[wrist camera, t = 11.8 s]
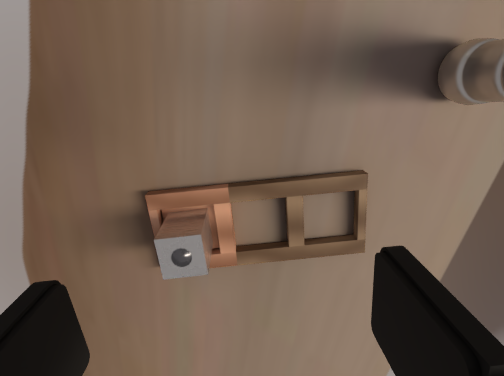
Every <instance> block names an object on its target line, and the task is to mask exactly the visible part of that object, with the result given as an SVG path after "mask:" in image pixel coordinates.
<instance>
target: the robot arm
mask: <svg viewBox="0 0 504 376" xmlns="http://www.w3.org/2000/svg"><path fill="white" fill-rule="evenodd" d="M371 326H372V331H373V334H374V336H375V338H376V340H377V342H378V344H379V346H380V348H381V349H382V351H383V353H384V355H385V357H386V359H387V361H388V363H389V364H390V366H391V368H392V370H393V372H394V374H395V375H396V376H504V346H503V345H502V344H501V343H500V342H499V341H498V340H497V339H496V338H495V337H494V336H493V335H492V334H491V333H490V332H489V331H488V330H487V329H486V328H485V327H484V326H483V325H482V324H481V323H480V322H479V321H478V320H477V319H476V318H475V317H474V316H473V315H472V314H471V313H470V312H469V311H468V310H467V309H466V308H465V307H464V306H463V305H462V304H461V303H460V302H459V301H458V300H457V299H456V298H455V297H454V296H453V295H452V294H451V293H450V292H449V291H448V290H447V289H446V288H445V287H444V286H443V285H442V284H441V283H440V282H439V281H438V280H437V279H436V278H435V277H434V276H433V275H432V274H431V273H430V272H429V271H428V270H427V269H426V268H425V267H424V266H423V265H422V264H421V263H420V262H419V261H418V260H417V259H416V258H415V257H414V256H413V255H412V254H411V253H410V252H409V251H408V250H407V249H406V248H405V247H404V246H392V247H383V248H382V249H381V251H380V253H376V255H375V265H374V282H373V299H372V317H371ZM89 358H90V353H89V350H88V347H87V344H86V341H85V338H84V336H83V333H82V330H81V327H80V325H79V322H78V319H77V316H76V313H75V311H74V308H73V305H72V302H71V300H70V297H69V294H68V291H67V289H66V287H65V286H64V285H61V284H60V282H59V281H56V280H52V281H42V282H35V283H33V284H32V285H30V286H29V287H28V288H27V290H25V291H24V292H23V293H22V294H21V295H20V296H19V297H18V298H17V299H16V300H15V301H14V302H13V303H12V304H11V305H10V306H9V307H8V308H7V309H6V310H5V311H4V312H3V313H2V314H1V315H0V376H82V375H83V373H84V371H85V369H86V367H87V365H88V363H89Z"/></svg>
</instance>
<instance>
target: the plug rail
mask: <svg viewBox="0 0 504 376" xmlns="http://www.w3.org/2000/svg"><path fill="white" fill-rule="evenodd" d="M367 183H368V173H366V172H365V171H363V170H361V171H351V172H340V173H330V174H320V175H310V176H300V177H290V178H279V179H269V180H259V181H249V182H239V183H229V184H218V185H208V186H198V187H188V188H178V189H168V190H157V191H148V193H147V194H146V195H145V198H146V202H147V207H148V211H149V216H150V220H151V224H152V229H153V233H154V238H155V237H156V235H157V233H158V231H159V229H160V227H161V225H162V224H163V220H165V218H166V216H167V214H168V213H170V212H179V211H188V210H197V209H206V208H207V209H208V215H209V221H210V227H211V232H212V238H213V247H212V254H211V260H210V266H209V268H216V267H226V266H236V265H245V264H255V263H265V262H275V261H285V260H295V259H305V258H315V257H324V256H334V255H344V254H354V253H364V252H365V231H366V207H367ZM354 190H355V195H354V232H353V235H344V236H334V237H324V238H314V239H304V217H303V195H313V194H324V193H334V192H344V191H354ZM283 197H285V205H286V223H287V241H284V242H274V243H264V244H254V245H244V246H236V242H235V234H234V225H233V217H232V209H231V203H233V202H243V201H253V200H263V199H273V198H283ZM161 210H162V214H161ZM214 210H215V211H214ZM162 215H163V219H162ZM215 217H216V218H215ZM216 224H217V225H216ZM217 231H218V232H217ZM218 238H219V239H218ZM213 248H214V249H213Z"/></svg>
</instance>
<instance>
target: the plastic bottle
mask: <svg viewBox="0 0 504 376" xmlns="http://www.w3.org/2000/svg"><path fill="white" fill-rule="evenodd" d="M438 84H439V88H440V90H441V92H442V94H443V95H444V96H445V97H446V98H448V99H449V100H451V101H454V102H457V103H460V104H464V105H473V104H483V103H488V102H504V39H502V40H500V39H493V38H482V39H474V40H470V41H468V42H465V43H463V44H461V45H459V46H457V47H455V48H454V49H452V50H451V51H450V52H449V53H448V54H447V55H446V56H445V58H444V59H443V61H442V63H441V65H440V68H439V72H438Z"/></svg>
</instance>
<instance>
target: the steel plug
mask: <svg viewBox="0 0 504 376" xmlns="http://www.w3.org/2000/svg"><path fill="white" fill-rule="evenodd" d="M154 243H155V247H156V251H157V255H158V260H159V264H160V268H161V272H162V276H163V280H164V279H173V278H182V277H190V276H199V275H208V273H209V266H210V260H211V254H212V247H213V238H212V232H211V227H210V221H209V215H208V209H207V208H206V209H197V210H188V211H179V212H170V213H168V214H167V216H166V218H165V220H164V222H163V224H162V225H161V227H160V229H159V231H158V233H157V235H156V237H155V239H154Z"/></svg>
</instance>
